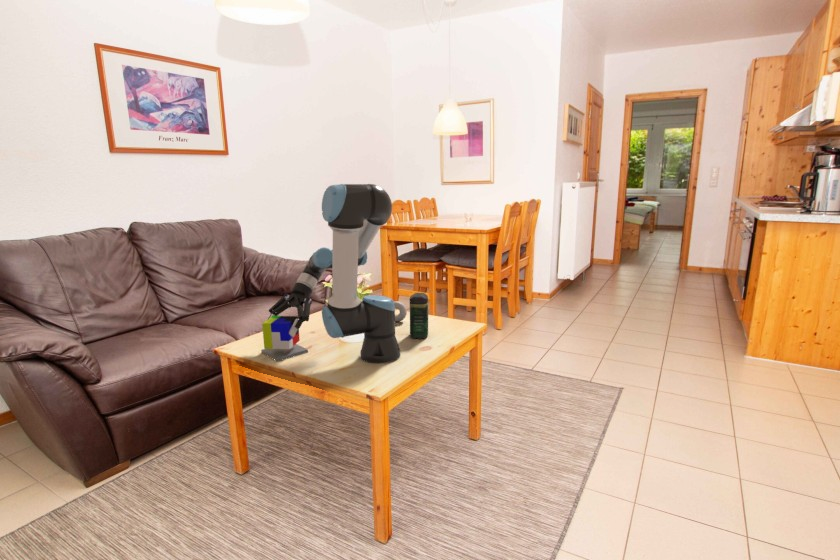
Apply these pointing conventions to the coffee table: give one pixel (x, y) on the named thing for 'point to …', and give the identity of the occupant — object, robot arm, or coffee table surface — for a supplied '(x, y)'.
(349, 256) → the robot arm
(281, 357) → the slate board
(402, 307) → the donut
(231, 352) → the coffee table surface
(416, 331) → the coffee jar
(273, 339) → the puzzle toy
